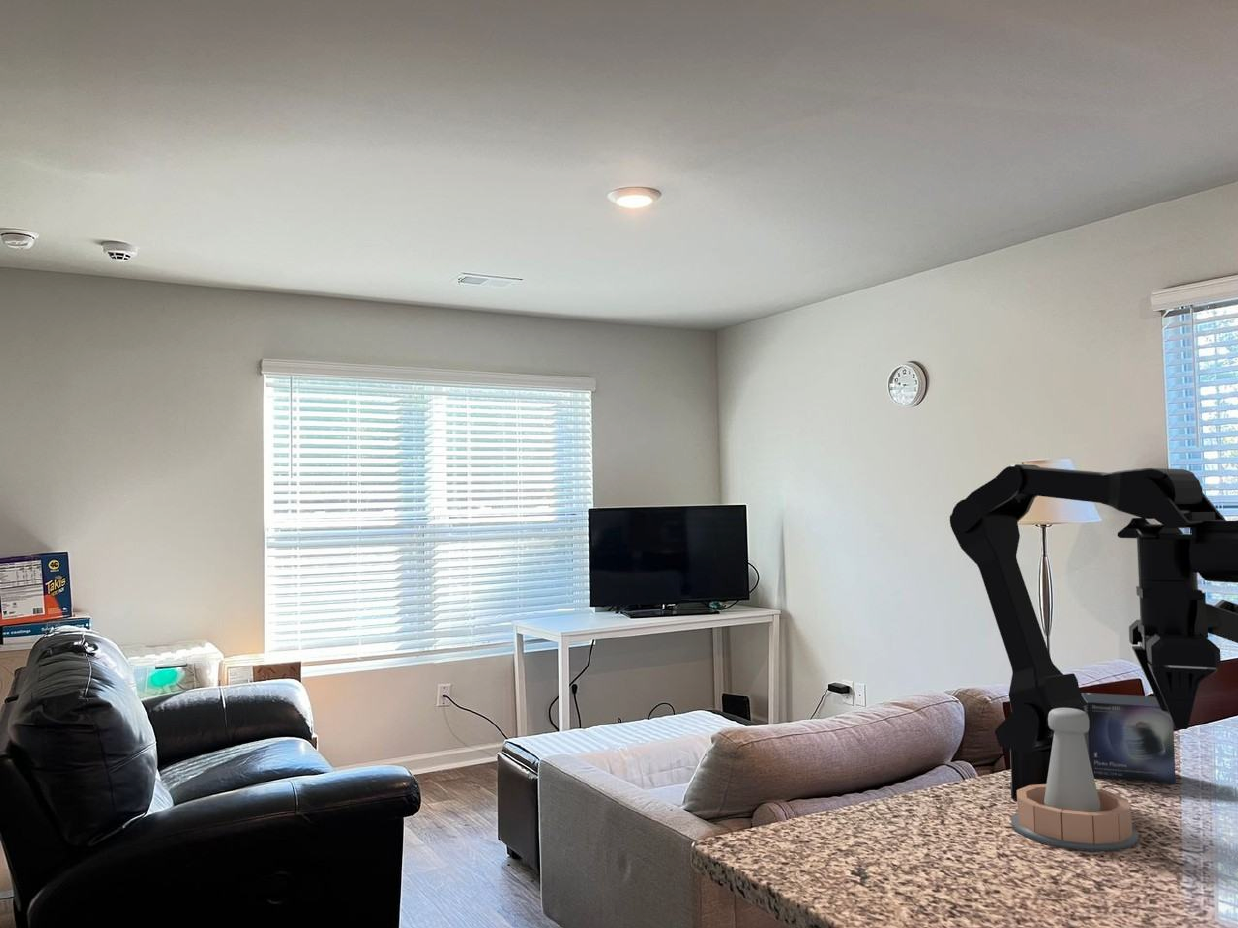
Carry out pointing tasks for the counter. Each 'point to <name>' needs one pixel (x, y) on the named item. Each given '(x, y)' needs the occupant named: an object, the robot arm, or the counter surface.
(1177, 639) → the robot arm
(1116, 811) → the socket
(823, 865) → the counter surface
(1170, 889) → the counter surface
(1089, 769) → the salt shaker
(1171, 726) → the small box
